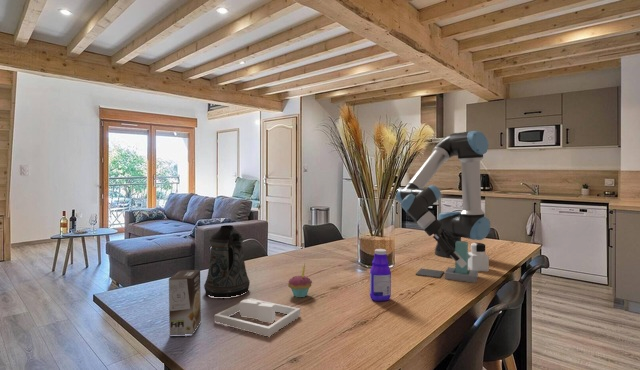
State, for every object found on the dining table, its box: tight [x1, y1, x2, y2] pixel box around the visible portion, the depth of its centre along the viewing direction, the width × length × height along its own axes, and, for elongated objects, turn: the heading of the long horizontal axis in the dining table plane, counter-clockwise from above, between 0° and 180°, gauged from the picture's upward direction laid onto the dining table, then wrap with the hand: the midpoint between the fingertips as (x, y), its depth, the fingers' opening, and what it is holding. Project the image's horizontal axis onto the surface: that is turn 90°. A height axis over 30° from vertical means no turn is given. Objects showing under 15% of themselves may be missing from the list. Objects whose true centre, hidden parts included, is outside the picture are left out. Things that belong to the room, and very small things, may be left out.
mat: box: [415, 268, 445, 279], centre depth 155 cm, size 10×10×1 cm
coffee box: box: [168, 269, 202, 336], centre depth 101 cm, size 9×6×16 cm
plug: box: [454, 240, 469, 274], centre depth 149 cm, size 4×4×15 cm
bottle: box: [369, 248, 392, 302], centre depth 124 cm, size 7×6×17 cm
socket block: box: [444, 266, 479, 284], centre depth 149 cm, size 10×12×2 cm
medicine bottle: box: [468, 242, 490, 272], centre depth 161 cm, size 7×7×12 cm
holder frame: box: [213, 297, 301, 336], centre depth 107 cm, size 16×20×2 cm
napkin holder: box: [239, 299, 277, 322], centre depth 107 cm, size 15×11×6 cm
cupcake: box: [287, 263, 313, 298], centre depth 128 cm, size 9×8×12 cm
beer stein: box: [203, 224, 251, 297], centre depth 132 cm, size 16×19×25 cm
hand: (466, 262), depth 148 cm, fingers open, 13 cm apart
